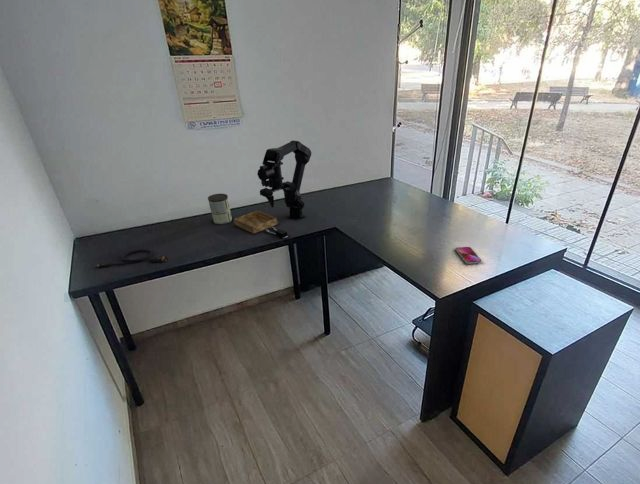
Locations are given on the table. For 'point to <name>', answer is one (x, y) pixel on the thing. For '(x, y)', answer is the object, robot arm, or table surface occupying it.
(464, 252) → the smartphone
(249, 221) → the brown wooden tray
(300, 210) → the robot arm
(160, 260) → the cable
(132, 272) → the table surface
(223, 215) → the coffee can
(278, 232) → the tongs
